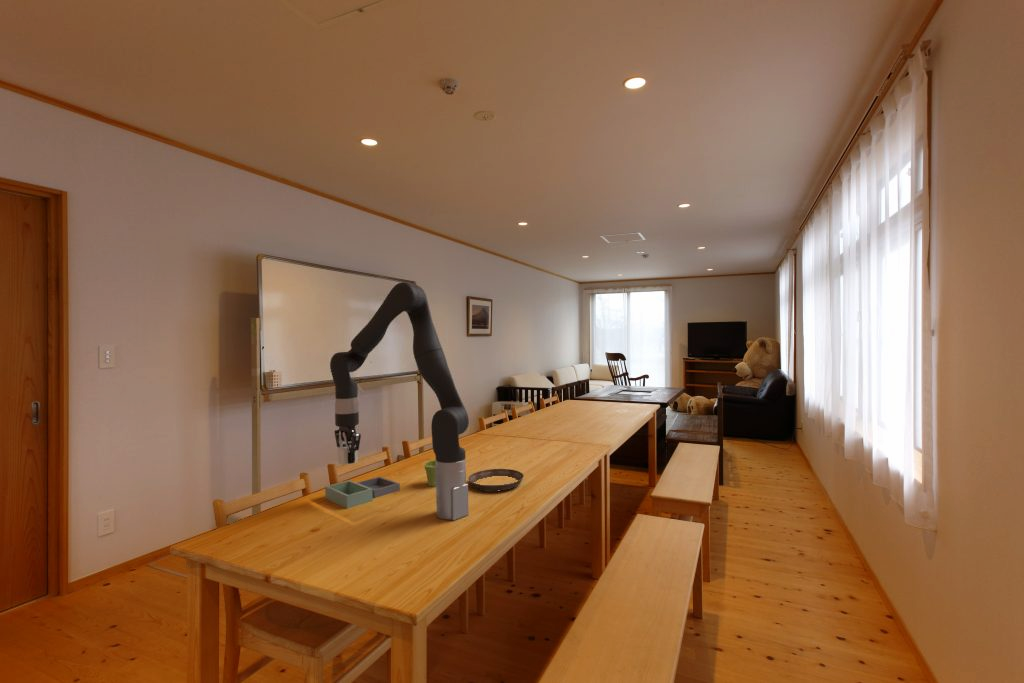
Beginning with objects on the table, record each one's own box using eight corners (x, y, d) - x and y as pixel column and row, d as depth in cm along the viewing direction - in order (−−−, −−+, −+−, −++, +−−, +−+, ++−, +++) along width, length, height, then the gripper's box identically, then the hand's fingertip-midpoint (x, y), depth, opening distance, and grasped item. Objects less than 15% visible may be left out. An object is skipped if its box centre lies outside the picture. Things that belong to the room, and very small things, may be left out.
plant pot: (436, 492, 166) (436, 468, 166) (418, 487, 172) (418, 464, 172) (454, 485, 174) (454, 462, 174) (437, 481, 180) (436, 458, 179)
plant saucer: (459, 491, 168) (459, 482, 168) (480, 474, 188) (480, 466, 188) (513, 496, 162) (513, 487, 162) (530, 478, 181) (530, 470, 181)
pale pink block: (357, 461, 158) (357, 447, 158) (343, 465, 155) (343, 450, 155) (351, 459, 161) (351, 445, 161) (338, 463, 157) (337, 448, 157)
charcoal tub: (399, 493, 166) (399, 483, 166) (374, 500, 159) (374, 490, 159) (379, 485, 175) (379, 476, 175) (355, 492, 168) (354, 483, 168)
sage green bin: (372, 503, 156) (372, 488, 156) (347, 511, 150) (347, 496, 150) (349, 494, 166) (349, 480, 166) (325, 501, 160) (325, 486, 160)
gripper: (368, 411, 156) (369, 463, 156) (346, 407, 165) (347, 456, 165) (347, 414, 150) (348, 468, 150) (326, 410, 160) (327, 460, 160)
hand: (347, 461), depth 158 cm, fingers closed on pale pink block, 4 cm apart
